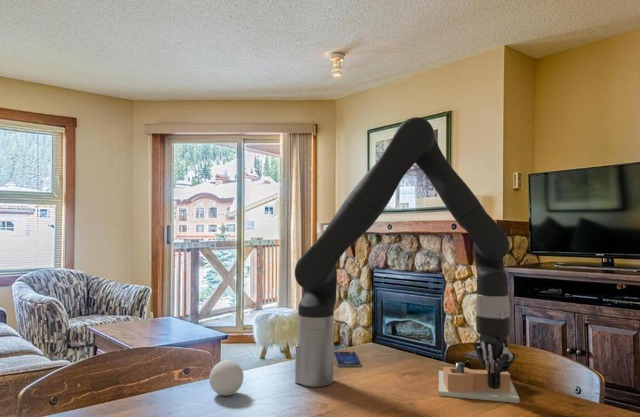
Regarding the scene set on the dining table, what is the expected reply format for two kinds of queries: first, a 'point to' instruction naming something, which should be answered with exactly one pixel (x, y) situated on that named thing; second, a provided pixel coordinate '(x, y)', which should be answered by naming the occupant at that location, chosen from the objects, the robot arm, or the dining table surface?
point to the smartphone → (346, 359)
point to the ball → (226, 377)
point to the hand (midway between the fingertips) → (494, 387)
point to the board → (480, 393)
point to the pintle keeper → (461, 365)
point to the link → (472, 380)
